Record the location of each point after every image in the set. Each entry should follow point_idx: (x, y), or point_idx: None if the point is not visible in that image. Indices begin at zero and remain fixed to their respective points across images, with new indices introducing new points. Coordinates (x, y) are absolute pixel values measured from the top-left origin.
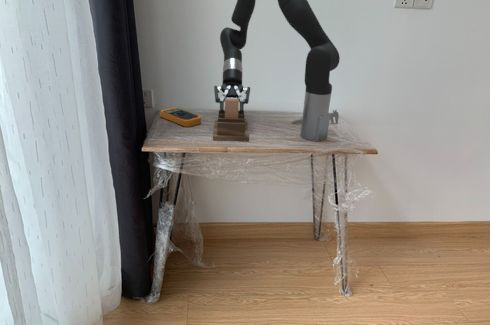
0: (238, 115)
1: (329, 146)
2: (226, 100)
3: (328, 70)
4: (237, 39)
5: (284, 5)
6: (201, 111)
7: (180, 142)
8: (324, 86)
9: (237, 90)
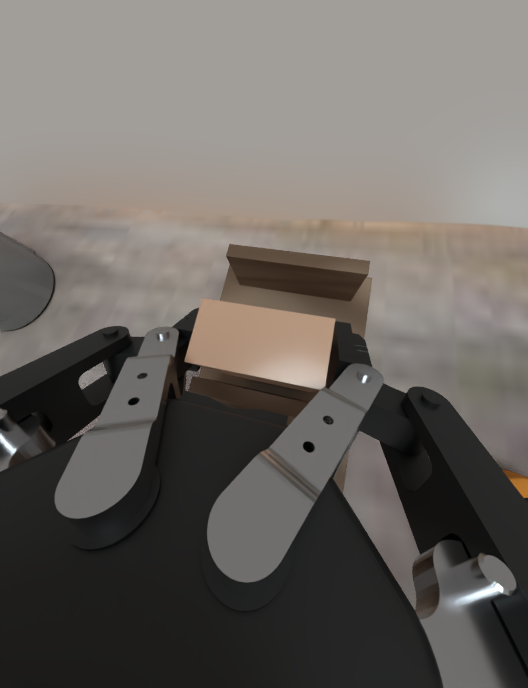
0: (226, 384)
1: (25, 219)
2: (320, 317)
3: None
4: None
5: None
6: None
7: (502, 273)
8: None
9: (125, 417)
